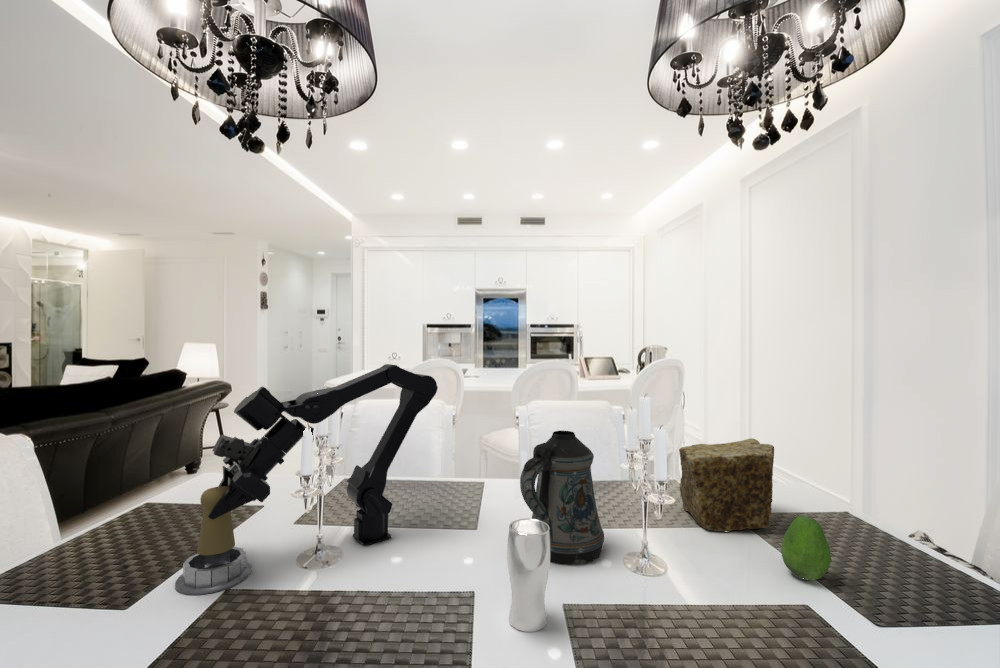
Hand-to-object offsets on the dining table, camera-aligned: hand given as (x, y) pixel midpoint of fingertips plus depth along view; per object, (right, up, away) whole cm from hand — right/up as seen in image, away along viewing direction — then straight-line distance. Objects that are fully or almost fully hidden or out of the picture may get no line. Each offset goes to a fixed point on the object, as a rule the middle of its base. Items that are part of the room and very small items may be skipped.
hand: (208, 513), depth 85 cm
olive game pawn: (+1, -7, +1) cm, 7 cm away
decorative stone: (+110, -14, +32) cm, 116 cm away
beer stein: (+67, -13, +14) cm, 70 cm away
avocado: (+112, -14, +4) cm, 113 cm away
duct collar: (+1, -12, +1) cm, 12 cm away
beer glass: (+58, -13, -11) cm, 60 cm away
